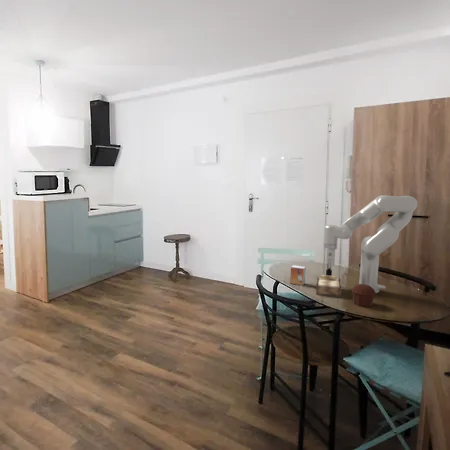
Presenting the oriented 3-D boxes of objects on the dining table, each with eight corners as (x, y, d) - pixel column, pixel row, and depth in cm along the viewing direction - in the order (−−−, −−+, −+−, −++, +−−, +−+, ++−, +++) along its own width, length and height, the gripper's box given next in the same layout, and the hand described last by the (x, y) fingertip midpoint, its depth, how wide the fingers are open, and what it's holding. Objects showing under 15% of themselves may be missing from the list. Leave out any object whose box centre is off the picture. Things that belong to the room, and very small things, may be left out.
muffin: (346, 303, 180) (347, 284, 178) (356, 298, 187) (357, 280, 186) (369, 309, 171) (371, 289, 170) (378, 304, 179) (380, 285, 178)
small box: (289, 283, 212) (290, 266, 211) (292, 281, 217) (293, 264, 216) (302, 285, 208) (303, 268, 207) (305, 283, 213) (306, 266, 212)
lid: (338, 280, 202) (338, 275, 201) (339, 287, 188) (339, 282, 188) (318, 279, 205) (319, 274, 205) (318, 285, 192) (318, 280, 191)
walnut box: (339, 288, 204) (340, 278, 203) (340, 297, 189) (341, 286, 188) (316, 286, 208) (317, 276, 207) (316, 294, 192) (316, 283, 192)
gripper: (337, 248, 196) (335, 280, 198) (336, 244, 210) (335, 273, 212) (323, 247, 198) (321, 279, 200) (324, 243, 212) (322, 272, 214)
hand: (328, 276), depth 206 cm, fingers closed
